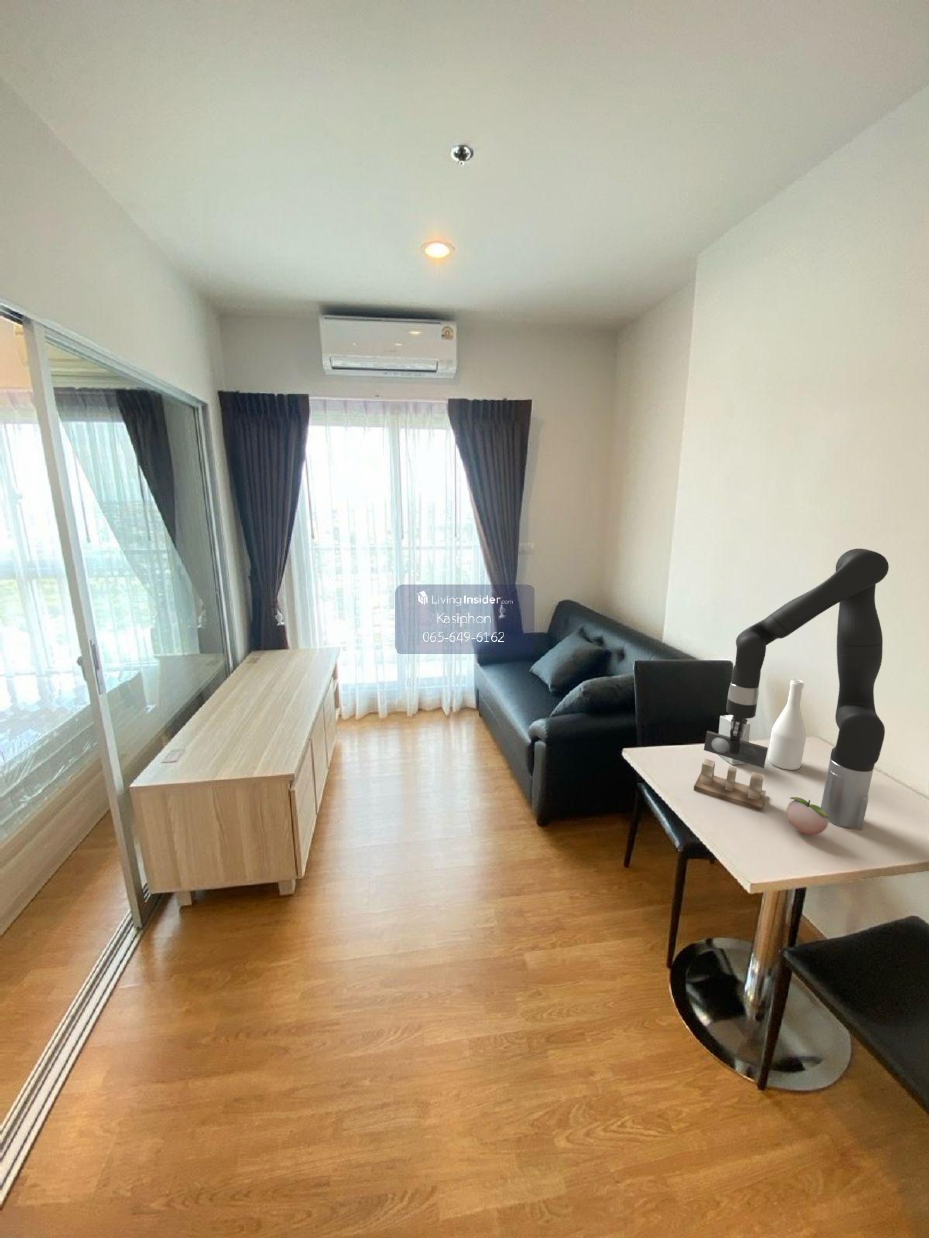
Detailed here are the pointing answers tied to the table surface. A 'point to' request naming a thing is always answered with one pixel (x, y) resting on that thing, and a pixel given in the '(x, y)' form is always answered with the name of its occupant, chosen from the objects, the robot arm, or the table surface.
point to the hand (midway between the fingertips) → (734, 752)
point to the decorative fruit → (806, 816)
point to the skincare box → (725, 730)
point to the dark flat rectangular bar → (746, 750)
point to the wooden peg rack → (731, 787)
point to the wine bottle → (789, 732)
